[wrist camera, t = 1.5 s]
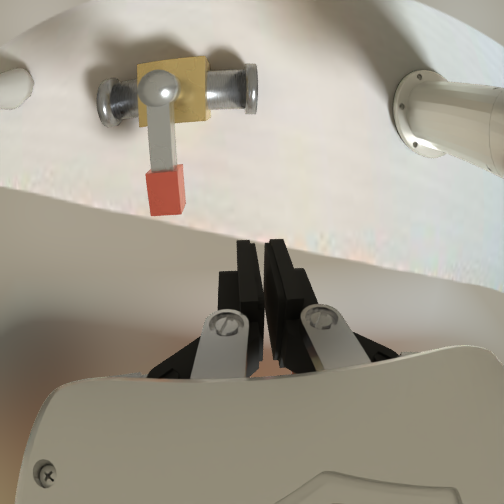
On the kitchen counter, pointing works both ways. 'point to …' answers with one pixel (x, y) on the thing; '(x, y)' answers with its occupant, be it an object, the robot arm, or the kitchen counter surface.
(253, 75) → the valve pipe
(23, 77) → the salt shaker
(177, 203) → the valve lever
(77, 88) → the kitchen counter surface
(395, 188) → the kitchen counter surface
